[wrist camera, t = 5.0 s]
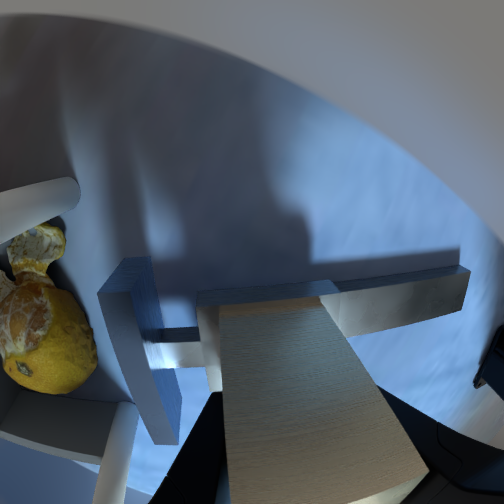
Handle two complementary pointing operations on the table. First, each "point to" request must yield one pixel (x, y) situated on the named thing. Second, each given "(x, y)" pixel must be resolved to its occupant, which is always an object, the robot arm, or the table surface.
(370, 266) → the table surface
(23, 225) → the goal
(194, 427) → the robot arm
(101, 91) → the table surface
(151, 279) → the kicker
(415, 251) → the table surface
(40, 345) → the fruit
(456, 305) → the rail
